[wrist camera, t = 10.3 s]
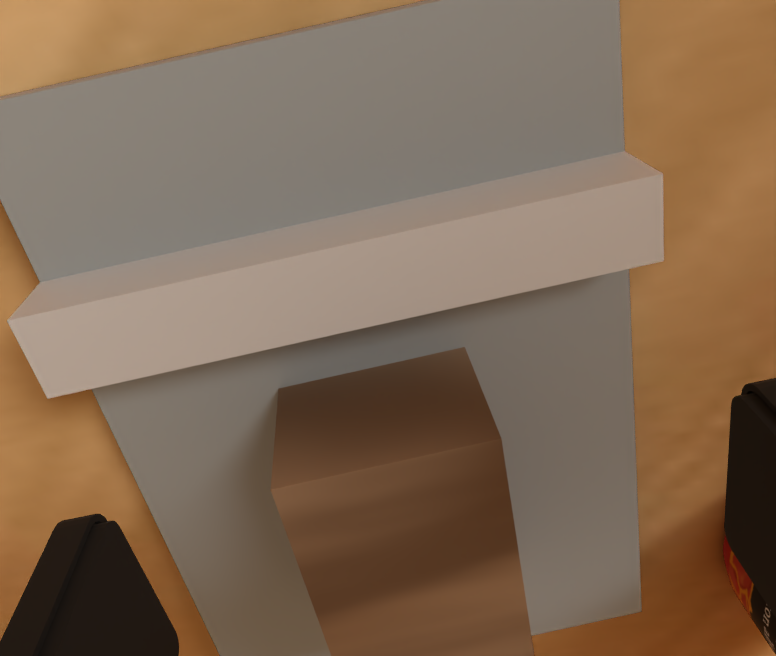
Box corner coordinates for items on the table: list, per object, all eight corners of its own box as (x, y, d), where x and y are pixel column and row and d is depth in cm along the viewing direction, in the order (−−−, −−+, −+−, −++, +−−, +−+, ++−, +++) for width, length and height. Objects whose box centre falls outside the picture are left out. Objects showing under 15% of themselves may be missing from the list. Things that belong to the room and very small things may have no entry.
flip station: (-23, 101, 15) (-93, 129, 13) (600, -39, 15) (661, -41, 13) (243, 673, 25) (235, 758, 22) (630, 588, 25) (668, 663, 22)
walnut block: (270, 489, 15) (354, 719, 19) (501, 438, 15) (538, 679, 18) (278, 388, 18) (347, 599, 22) (464, 347, 18) (501, 565, 22)
